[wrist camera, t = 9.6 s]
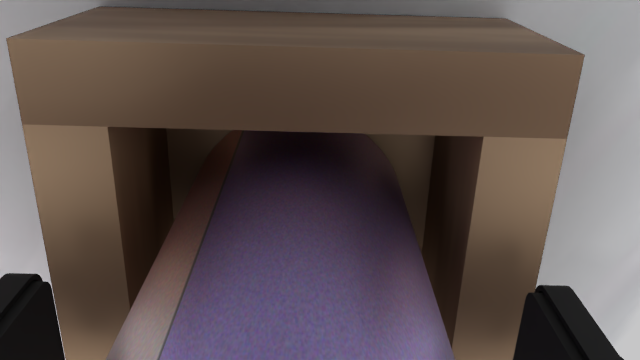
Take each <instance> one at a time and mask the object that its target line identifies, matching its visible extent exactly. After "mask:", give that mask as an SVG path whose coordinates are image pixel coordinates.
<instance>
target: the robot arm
mask: <svg viewBox="0 0 640 360" xmlns="http://www.w3.org/2000/svg"><path fill="white" fill-rule="evenodd" d="M0 360H65V358H64V352H63V347H62V342H61V336H60V331H59V326H58V321H57V315H56V310H55V305H54V299H53V294H52V289H51V285H50V284H49V283H48V282H43V281H42V278H41V277H40V275H38V274H14V273H9V274H5V275H4V276H3V277H1V279H0ZM513 360H624V359H623V358H622V357H620V356H619V355H618V353H617V352H616V350H615V349H614V348H613V346H612V345H611V343H610V342H609V341H608V339H607V338H606V336H605V335H604V333H603V332H602V331H601V329H600V328H599V326H598V325H597V324H596V322H595V321H594V319H593V318H592V316H591V315H590V314H589V312H588V311H587V309H586V308H585V307H584V305H583V304H582V302H581V301H580V299H579V298H578V297H577V295H576V294H575V292H574V291H573V290H572V289H571V288H570V287H569V286H549V285H539V286H538V287H537V288H536V289H535V292H534V293H533V292H530V293H528V294H527V296H526V299H525V303H524V308H523V313H522V318H521V322H520V327H519V332H518V337H517V342H516V347H515V352H514V356H513Z"/></svg>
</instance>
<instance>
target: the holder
mask: <svg viewBox="0 0 640 360" xmlns="http://www.w3.org/2000/svg"><path fill="white" fill-rule="evenodd" d="M6 40H7V45H8V50H9V56H10V61H11V67H12V72H13V77H14V83H15V88H16V94H17V99H18V104H19V110H20V115H21V121H22V126H23V131H24V137H25V142H26V147H27V153H28V158H29V164H30V169H31V174H32V180H33V185H34V191H35V196H36V201H37V207H38V212H39V218H40V223H41V228H42V234H43V239H44V245H45V250H46V255H47V261H48V266H49V272H50V277H51V282H52V288H53V293H54V298H55V304H56V309H57V315H58V320H59V325H60V331H61V336H62V342H63V347H64V352H65V358H66V360H106V358H107V356H108V354H109V352H110V350H111V348H112V346H113V344H114V342H115V340H116V338H117V336H118V334H119V332H120V330H121V328H122V326H123V324H124V322H125V320H126V318H127V316H128V314H129V312H130V310H131V308H132V306H133V303H134V301H135V299H136V297H137V295H138V293H139V291H140V289H141V287H142V285H143V283H144V281H145V279H146V277H147V275H148V273H149V271H150V269H151V267H152V265H153V263H154V261H155V259H156V257H157V255H158V253H159V251H160V249H161V247H162V245H163V243H164V241H165V239H166V237H167V235H168V233H169V231H170V229H171V227H172V225H173V223H174V221H175V219H176V217H177V215H178V213H179V211H180V209H181V207H182V205H183V203H184V201H185V199H186V197H187V195H188V193H189V191H190V189H191V187H192V185H193V183H194V181H195V179H196V177H197V175H198V173H199V171H200V169H201V167H202V165H203V163H204V161H205V159H206V158H207V156H208V155H209V153H210V152H211V151H212V149H213V148H214V147H215V146H216V145H217V144H218V143H219V142H220V141H221V140H222V139H223V138H224V137H225V136H226V135H228V134H229V133H230V132H232V131H233V130H250V131H287V132H325V133H363V134H365V135H366V136H368V137H369V138H370V139H371V140H372V141H373V142H374V143H375V144H376V145H377V146H378V147H379V148H380V149H381V150H382V152H383V153H384V154H385V156H386V157H387V159H388V160H389V162H390V164H391V165H392V167H393V169H394V172H395V174H396V176H397V179H398V182H399V185H400V189H401V192H402V195H403V198H404V201H405V204H406V207H407V210H408V214H409V217H410V220H411V223H412V226H413V229H414V232H415V236H416V239H417V242H418V245H419V248H420V251H421V254H422V257H423V261H424V264H425V267H426V270H427V273H428V276H429V279H430V282H431V286H432V289H433V292H434V295H435V298H436V301H437V304H438V308H439V311H440V314H441V317H442V320H443V323H444V326H445V329H446V333H447V336H448V339H449V342H450V345H451V348H452V351H453V354H454V358H455V360H513V356H514V352H515V347H516V342H517V337H518V332H519V327H520V322H521V318H522V313H523V308H524V303H525V299H526V296H527V294H528V293H530V292H533V293H534V292H535V288H536V283H537V278H538V273H539V269H540V264H541V259H542V254H543V250H544V245H545V240H546V236H547V231H548V226H549V221H550V217H551V212H552V207H553V202H554V198H555V193H556V188H557V183H558V179H559V174H560V169H561V165H562V160H563V155H564V150H565V146H566V141H567V136H568V131H569V127H570V122H571V117H572V112H573V108H574V103H575V98H576V94H577V89H578V84H579V79H580V75H581V70H582V65H583V60H584V56H585V55H584V54H581V53H579V52H577V51H575V50H573V49H571V48H568V47H566V46H564V45H562V44H560V43H558V42H556V41H553V40H551V39H549V38H547V37H545V36H543V35H540V34H538V33H536V32H534V31H532V30H530V29H528V28H525V27H523V26H521V25H519V24H517V23H515V22H512V21H510V20H508V19H503V18H469V17H435V16H401V15H367V14H334V13H300V12H266V11H232V10H198V9H164V8H130V7H96V8H93V9H91V10H88V11H85V12H82V13H79V14H76V15H73V16H70V17H67V18H64V19H61V20H58V21H56V22H53V23H50V24H47V25H44V26H41V27H38V28H35V29H32V30H29V31H26V32H24V33H21V34H18V35H15V36H12V37H9V38H6Z"/></svg>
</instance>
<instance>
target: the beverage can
mask: <svg viewBox="0 0 640 360" xmlns="http://www.w3.org/2000/svg"><path fill="white" fill-rule="evenodd" d="M106 360H455V358H454V354H453V351H452V348H451V345H450V342H449V339H448V336H447V333H446V329H445V326H444V323H443V320H442V317H441V314H440V311H439V308H438V304H437V301H436V298H435V295H434V292H433V289H432V286H431V282H430V279H429V276H428V273H427V270H426V267H425V264H424V261H423V257H422V254H421V251H420V248H419V245H418V242H417V239H416V236H415V232H414V229H413V226H412V223H411V220H410V217H409V214H408V210H407V207H406V204H405V201H404V198H403V195H402V192H401V189H400V185H399V182H398V179H397V176H396V174H395V172H394V169H393V167H392V165H391V164H390V162H389V160H388V159H387V157H386V156H385V154H384V153H383V152H382V150H381V149H380V148H379V147H378V146H377V145H376V144H375V143H374V142H373V141H372V140H371V139H370V138H369V137H368V136H366V135H365V134H363V133H325V132H287V131H250V130H233V131H232V132H230V133H229V134H228V135H226V136H225V137H224V138H223V139H222V140H221V141H220V142H219V143H218V144H217V145H216V146H215V147H214V148H213V149H212V151H211V152H210V153H209V155H208V156H207V158H206V159H205V161H204V163H203V165H202V167H201V169H200V171H199V173H198V175H197V177H196V179H195V181H194V183H193V185H192V187H191V189H190V191H189V193H188V195H187V197H186V199H185V201H184V203H183V205H182V207H181V209H180V211H179V213H178V215H177V217H176V219H175V221H174V223H173V225H172V227H171V229H170V231H169V233H168V235H167V237H166V239H165V241H164V243H163V245H162V247H161V249H160V251H159V253H158V255H157V257H156V259H155V261H154V263H153V265H152V267H151V269H150V271H149V273H148V275H147V277H146V279H145V281H144V283H143V285H142V287H141V289H140V291H139V293H138V295H137V297H136V299H135V301H134V303H133V306H132V308H131V310H130V312H129V314H128V316H127V318H126V320H125V322H124V324H123V326H122V328H121V330H120V332H119V334H118V336H117V338H116V340H115V342H114V344H113V346H112V348H111V350H110V352H109V354H108V356H107V358H106Z"/></svg>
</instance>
